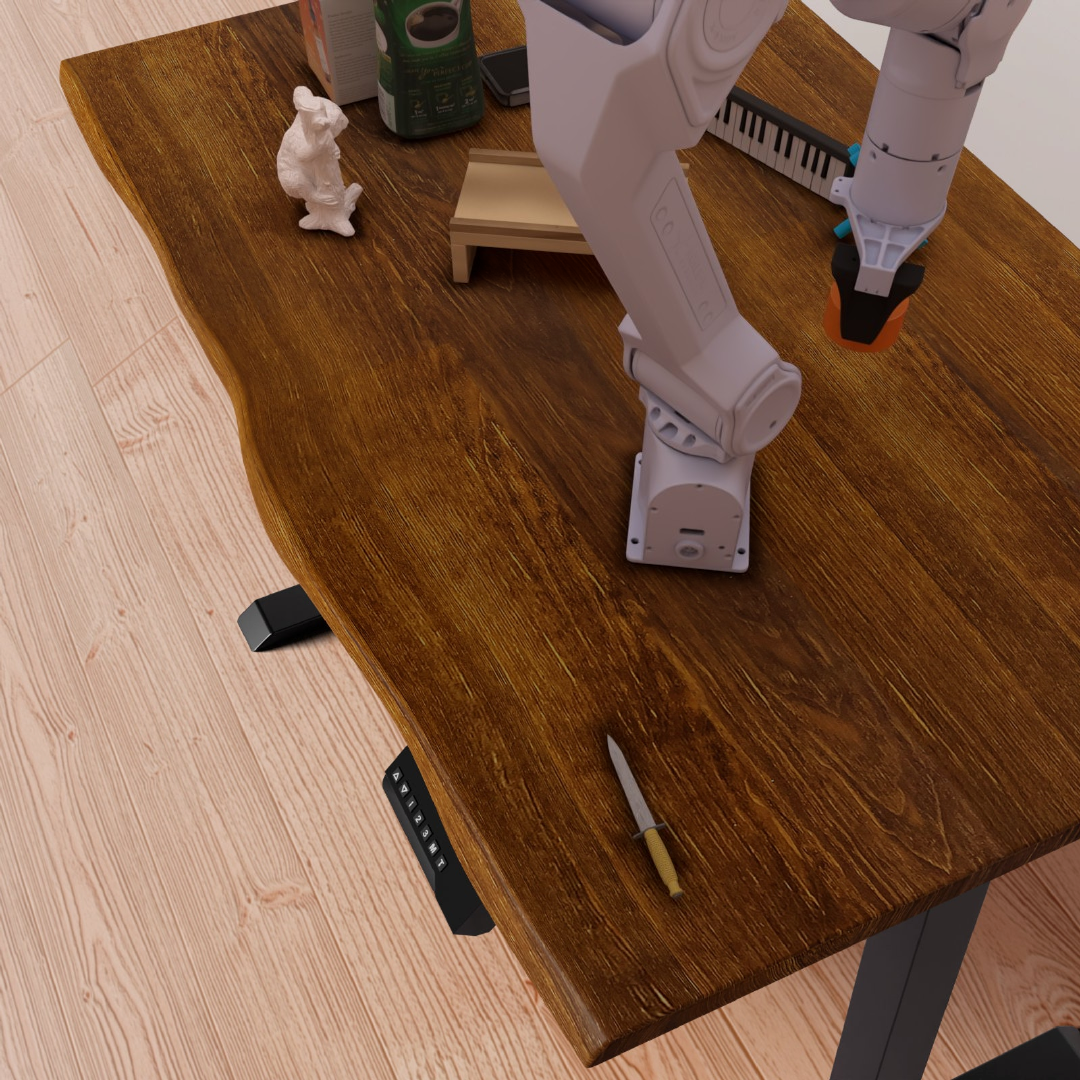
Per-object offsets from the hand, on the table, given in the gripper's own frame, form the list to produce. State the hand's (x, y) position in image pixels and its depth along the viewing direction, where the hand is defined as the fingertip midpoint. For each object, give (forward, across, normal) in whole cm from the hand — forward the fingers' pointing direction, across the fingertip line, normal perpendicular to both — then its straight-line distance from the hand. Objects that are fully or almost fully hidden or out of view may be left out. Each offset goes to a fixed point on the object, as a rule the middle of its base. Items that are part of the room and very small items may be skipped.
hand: (864, 310), depth 79 cm
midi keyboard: (+9, -27, -12) cm, 31 cm away
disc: (+1, 0, 0) cm, 1 cm away
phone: (+8, -35, -34) cm, 49 cm away
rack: (+8, -10, -24) cm, 27 cm away
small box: (+9, -27, -52) cm, 59 cm away
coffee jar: (+9, -24, -42) cm, 50 cm away
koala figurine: (+9, -7, -45) cm, 46 cm away
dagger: (+8, +36, -5) cm, 38 cm away
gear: (+8, -20, -1) cm, 22 cm away
